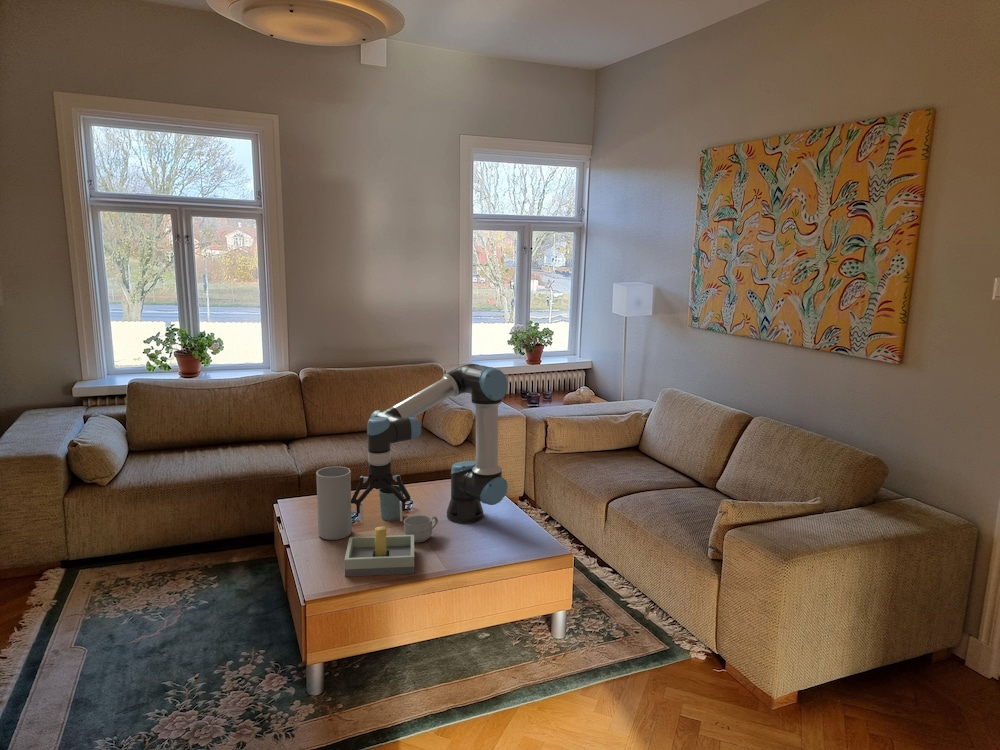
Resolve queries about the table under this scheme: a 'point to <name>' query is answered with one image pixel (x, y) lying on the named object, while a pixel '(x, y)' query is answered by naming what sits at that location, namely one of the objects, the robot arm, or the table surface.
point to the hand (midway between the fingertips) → (381, 520)
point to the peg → (380, 542)
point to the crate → (365, 562)
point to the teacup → (419, 527)
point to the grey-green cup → (389, 504)
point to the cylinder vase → (334, 502)
